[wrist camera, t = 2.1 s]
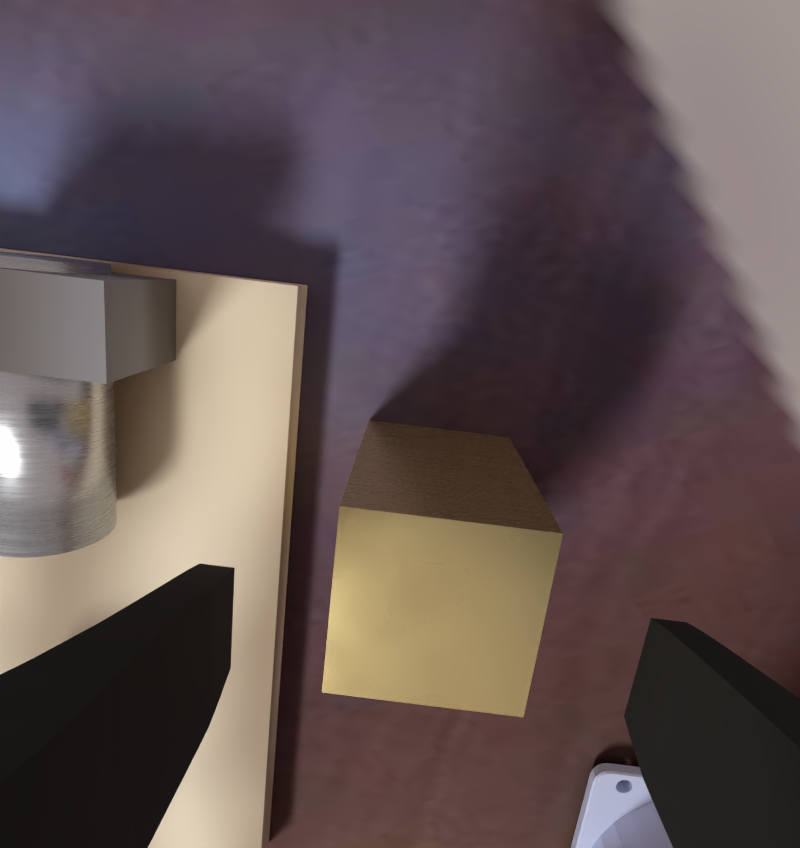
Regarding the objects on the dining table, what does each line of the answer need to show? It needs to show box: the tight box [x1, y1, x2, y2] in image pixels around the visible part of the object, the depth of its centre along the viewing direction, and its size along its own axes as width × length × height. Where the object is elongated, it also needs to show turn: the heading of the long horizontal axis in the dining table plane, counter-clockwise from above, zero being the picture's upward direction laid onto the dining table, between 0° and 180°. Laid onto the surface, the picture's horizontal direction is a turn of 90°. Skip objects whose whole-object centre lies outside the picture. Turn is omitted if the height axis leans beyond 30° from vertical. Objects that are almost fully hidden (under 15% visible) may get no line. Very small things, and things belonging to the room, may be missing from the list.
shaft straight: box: [0, 251, 117, 558], centre depth 13 cm, size 6×3×3 cm, turn 173°
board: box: [0, 248, 308, 848], centre depth 15 cm, size 11×20×4 cm, turn 173°
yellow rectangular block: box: [322, 420, 563, 717], centre depth 13 cm, size 4×4×6 cm
